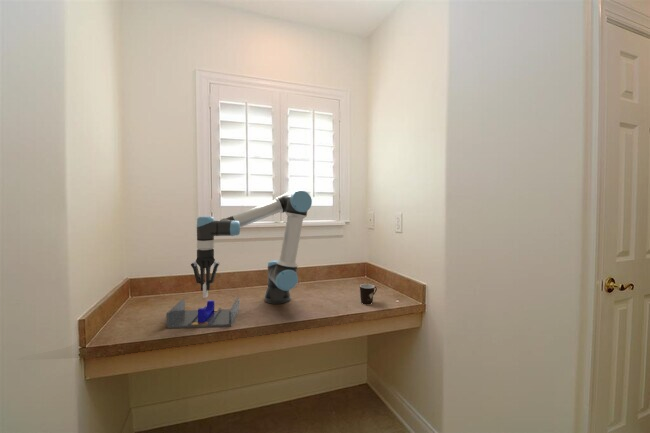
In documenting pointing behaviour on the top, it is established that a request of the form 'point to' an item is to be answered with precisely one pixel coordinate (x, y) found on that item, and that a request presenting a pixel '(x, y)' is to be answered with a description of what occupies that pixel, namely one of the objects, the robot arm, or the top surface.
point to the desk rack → (190, 317)
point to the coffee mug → (367, 293)
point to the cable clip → (206, 311)
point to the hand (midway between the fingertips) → (205, 297)
